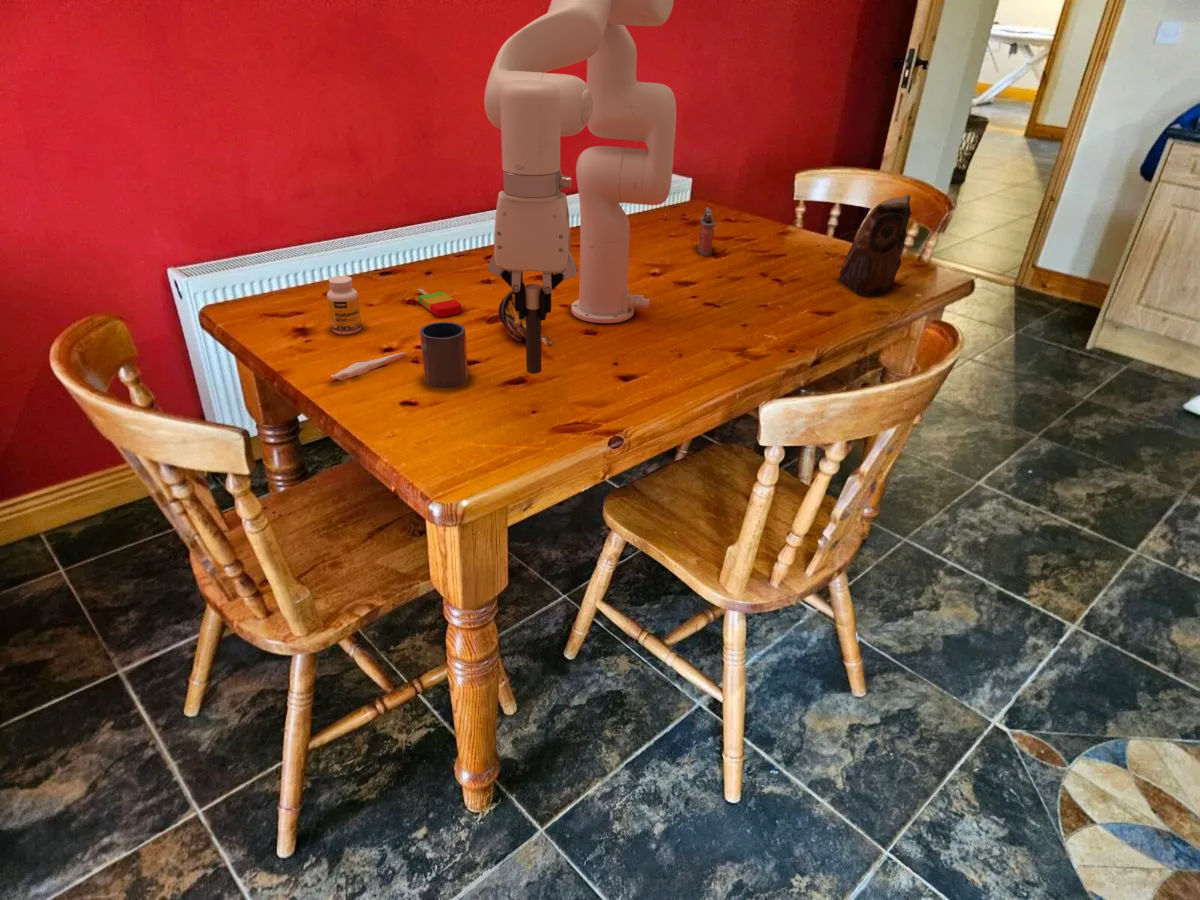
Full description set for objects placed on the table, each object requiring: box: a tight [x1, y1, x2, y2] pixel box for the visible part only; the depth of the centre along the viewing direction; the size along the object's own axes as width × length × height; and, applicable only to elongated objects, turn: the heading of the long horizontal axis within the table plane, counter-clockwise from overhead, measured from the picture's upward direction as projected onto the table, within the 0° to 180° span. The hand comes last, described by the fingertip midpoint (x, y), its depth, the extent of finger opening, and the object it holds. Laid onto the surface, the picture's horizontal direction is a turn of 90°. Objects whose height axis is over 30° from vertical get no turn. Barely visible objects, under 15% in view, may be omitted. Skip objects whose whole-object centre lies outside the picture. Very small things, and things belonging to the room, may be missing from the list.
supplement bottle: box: [326, 275, 362, 335], centre depth 145 cm, size 5×5×10 cm
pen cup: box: [419, 321, 469, 389], centre depth 128 cm, size 7×7×9 cm
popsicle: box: [416, 288, 463, 318], centre depth 160 cm, size 6×15×2 cm, turn 36°
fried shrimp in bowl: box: [498, 289, 554, 349], centre depth 144 cm, size 9×11×18 cm
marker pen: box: [525, 283, 542, 375], centre depth 114 cm, size 2×2×13 cm
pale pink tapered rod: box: [330, 352, 408, 381], centre depth 133 cm, size 15×3×2 cm, turn 139°
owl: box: [837, 193, 912, 298], centre depth 171 cm, size 13×13×20 cm
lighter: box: [697, 206, 716, 257], centre depth 194 cm, size 8×3×10 cm, turn 179°
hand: (533, 315), depth 113 cm, fingers closed on marker pen, 2 cm apart
